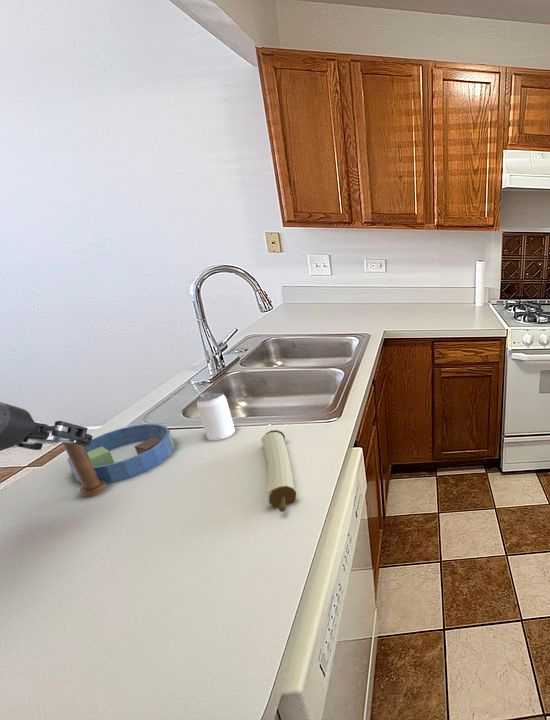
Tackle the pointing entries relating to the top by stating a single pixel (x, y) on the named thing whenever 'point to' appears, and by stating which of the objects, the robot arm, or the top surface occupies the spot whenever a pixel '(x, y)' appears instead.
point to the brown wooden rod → (85, 470)
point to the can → (215, 415)
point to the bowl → (135, 463)
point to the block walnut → (147, 445)
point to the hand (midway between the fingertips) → (65, 442)
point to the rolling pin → (278, 470)
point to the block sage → (100, 457)
